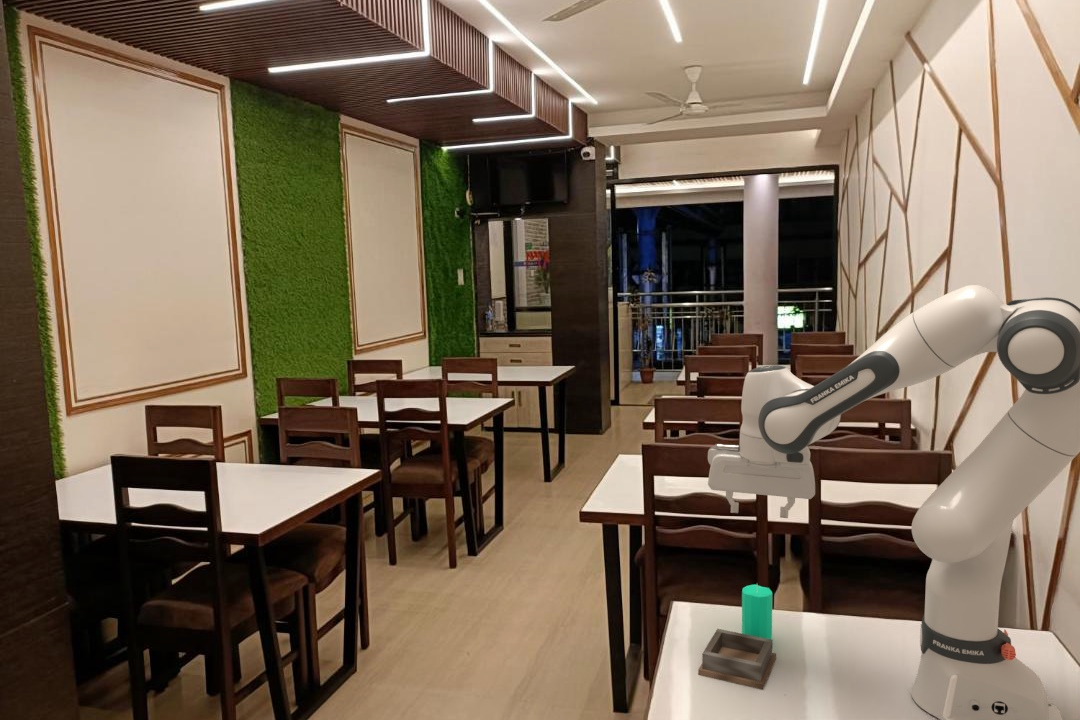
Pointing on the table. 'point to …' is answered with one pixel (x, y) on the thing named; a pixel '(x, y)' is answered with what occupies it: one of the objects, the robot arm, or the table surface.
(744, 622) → the candle
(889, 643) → the table surface
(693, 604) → the table surface
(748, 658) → the holder
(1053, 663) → the table surface
